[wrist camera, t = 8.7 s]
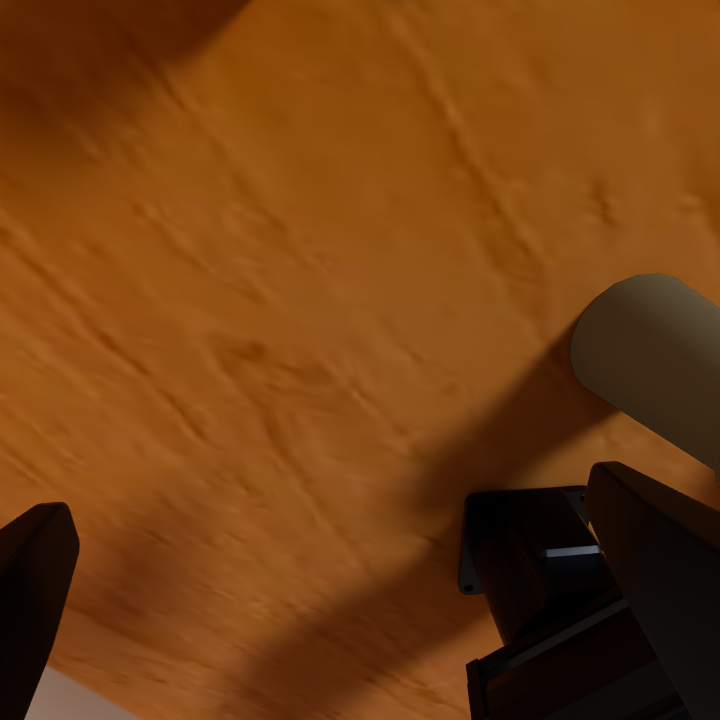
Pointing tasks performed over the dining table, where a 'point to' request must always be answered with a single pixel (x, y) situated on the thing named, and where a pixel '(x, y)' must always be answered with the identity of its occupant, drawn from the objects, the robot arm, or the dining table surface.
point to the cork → (656, 360)
